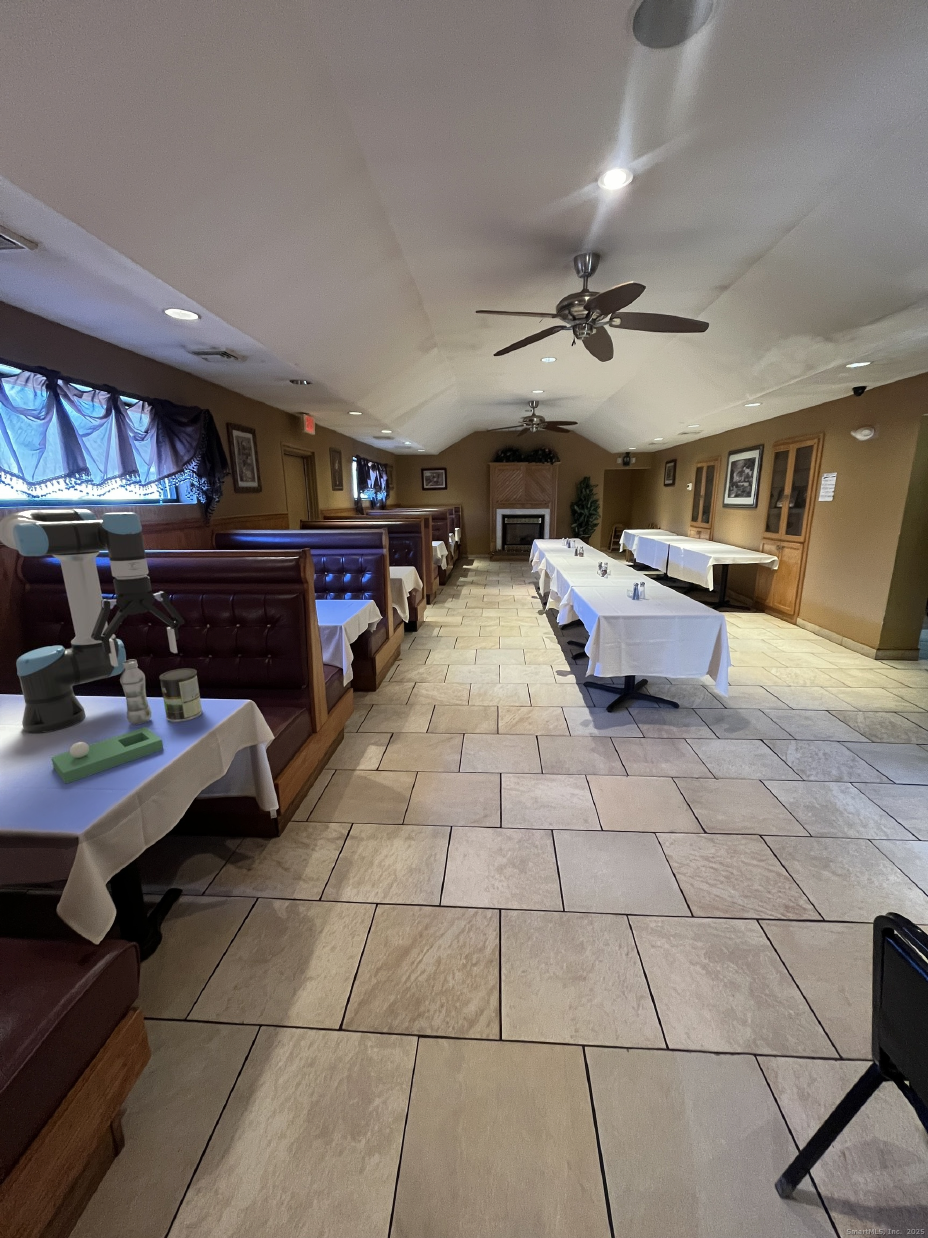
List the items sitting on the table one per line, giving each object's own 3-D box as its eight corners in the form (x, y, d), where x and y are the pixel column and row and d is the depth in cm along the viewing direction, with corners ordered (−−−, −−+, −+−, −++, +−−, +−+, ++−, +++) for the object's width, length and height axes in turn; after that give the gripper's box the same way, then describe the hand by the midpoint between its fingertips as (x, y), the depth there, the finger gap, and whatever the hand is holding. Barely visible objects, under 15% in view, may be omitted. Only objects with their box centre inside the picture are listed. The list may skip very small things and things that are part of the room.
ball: (69, 757, 128) (66, 743, 127) (88, 751, 131) (85, 737, 130) (73, 762, 126) (70, 748, 125) (92, 756, 129) (89, 742, 128)
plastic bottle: (127, 729, 150) (115, 666, 145) (129, 720, 156) (117, 660, 151) (152, 724, 153) (141, 662, 148) (153, 715, 159) (142, 656, 154)
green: (53, 767, 129) (51, 757, 129) (147, 736, 146) (146, 726, 145) (65, 784, 122) (63, 773, 121) (163, 749, 138) (161, 739, 137)
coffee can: (166, 724, 153) (158, 682, 149) (166, 712, 161) (159, 671, 158) (203, 717, 158) (197, 675, 154) (202, 705, 166) (196, 666, 163)
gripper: (73, 585, 110) (91, 675, 116) (190, 571, 129) (202, 649, 134) (64, 581, 115) (82, 668, 120) (179, 569, 134) (190, 644, 139)
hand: (145, 658), depth 127 cm, fingers open, 13 cm apart
